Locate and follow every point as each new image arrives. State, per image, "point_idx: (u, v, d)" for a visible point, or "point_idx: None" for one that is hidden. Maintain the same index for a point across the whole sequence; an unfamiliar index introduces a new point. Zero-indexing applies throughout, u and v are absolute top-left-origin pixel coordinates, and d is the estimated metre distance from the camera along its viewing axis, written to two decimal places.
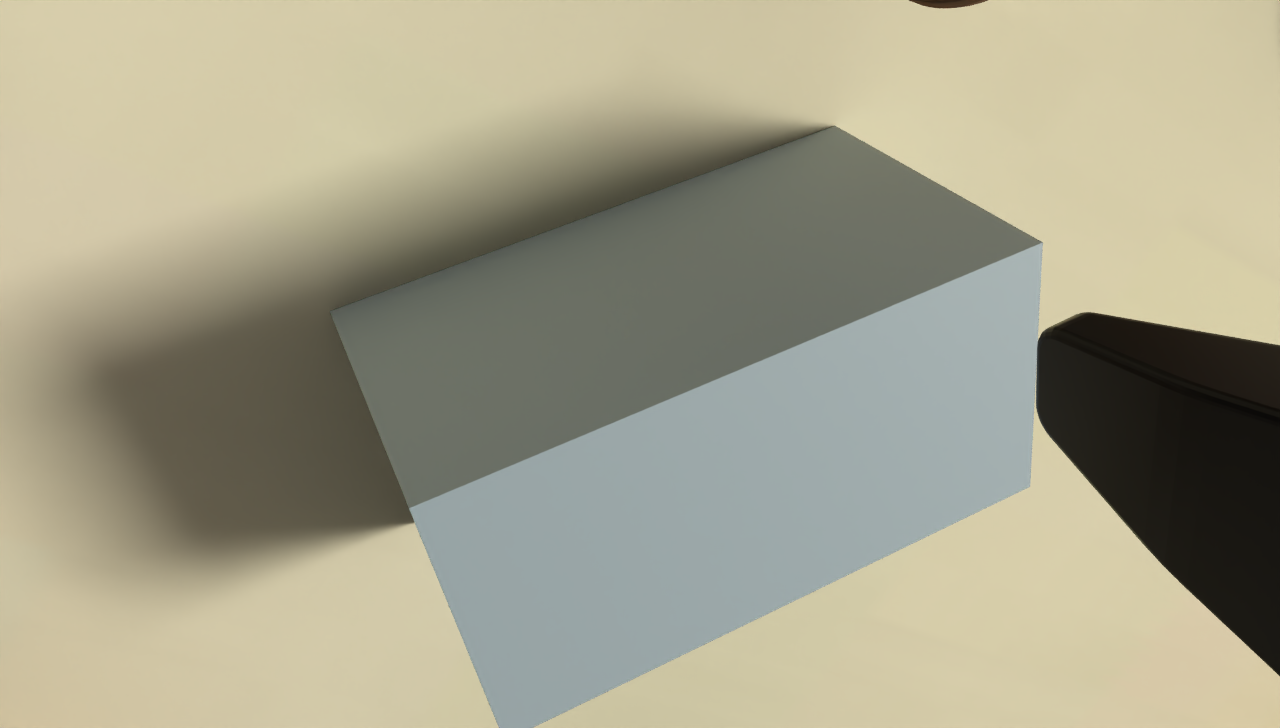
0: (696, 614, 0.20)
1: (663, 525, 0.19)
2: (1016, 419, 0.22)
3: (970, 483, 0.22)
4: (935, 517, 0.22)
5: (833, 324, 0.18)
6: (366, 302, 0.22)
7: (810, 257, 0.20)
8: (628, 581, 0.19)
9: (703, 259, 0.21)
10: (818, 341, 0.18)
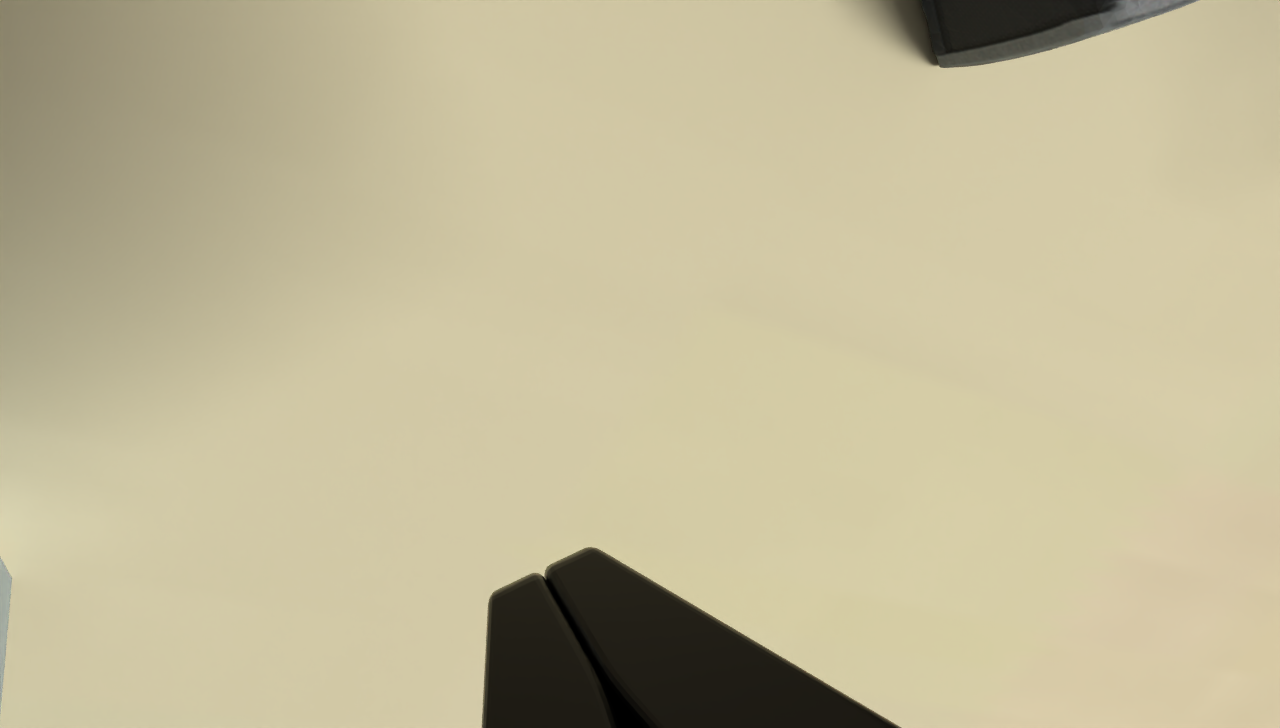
0: None
1: None
2: None
3: None
4: None
5: None
6: None
7: None
8: None
9: None
10: None
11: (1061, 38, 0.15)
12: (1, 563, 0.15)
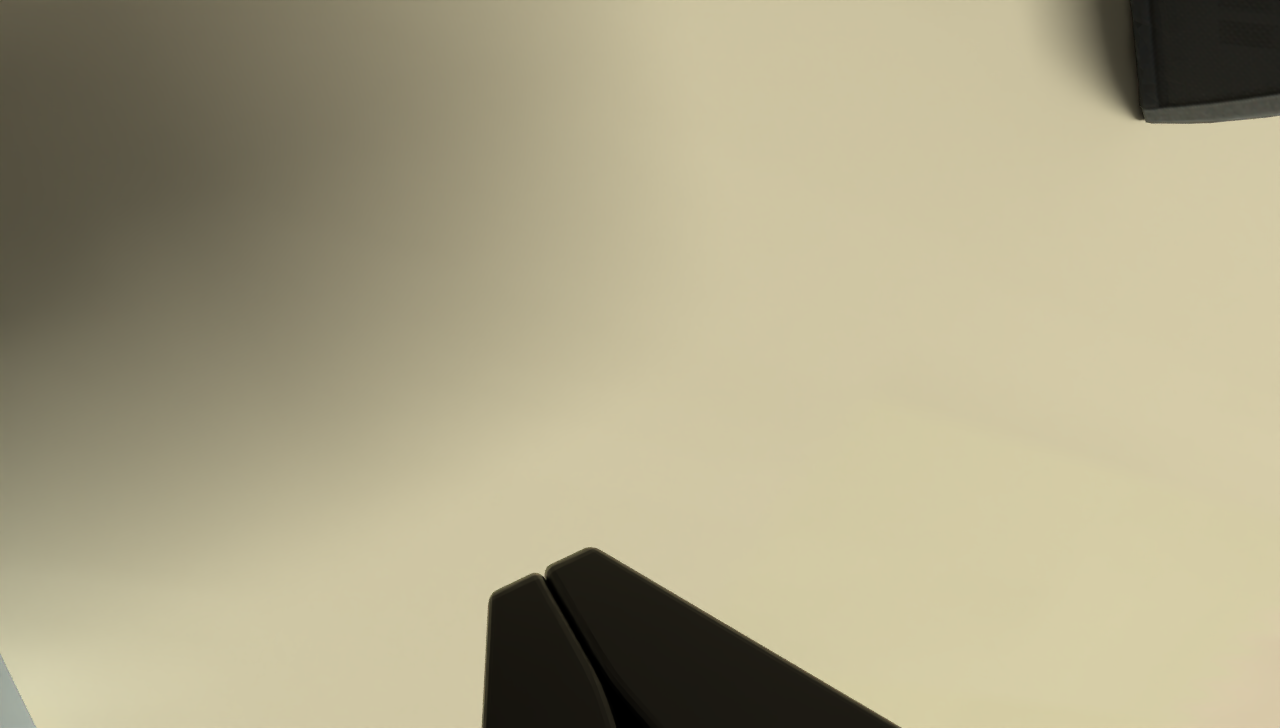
0: None
1: None
2: None
3: None
4: None
5: None
6: None
7: None
8: None
9: None
10: None
11: None
12: None
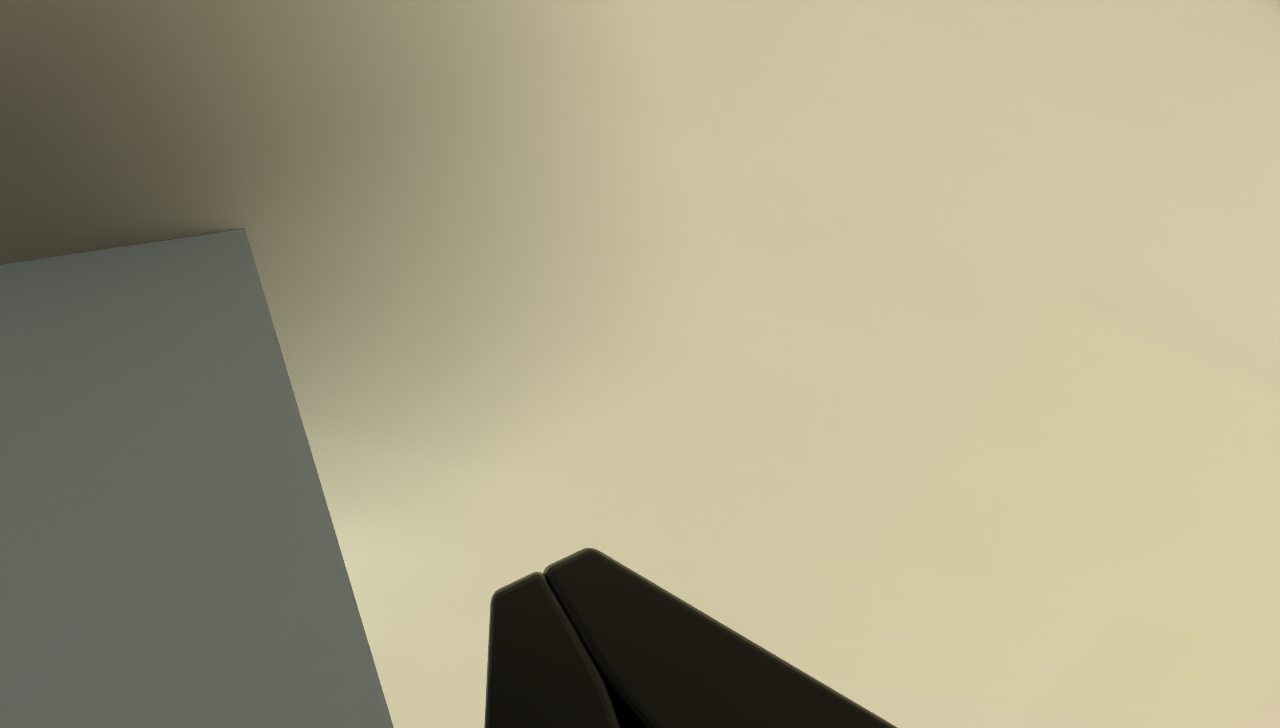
0: None
1: None
2: None
3: None
4: None
5: None
6: None
7: None
8: None
9: None
10: None
11: None
12: None
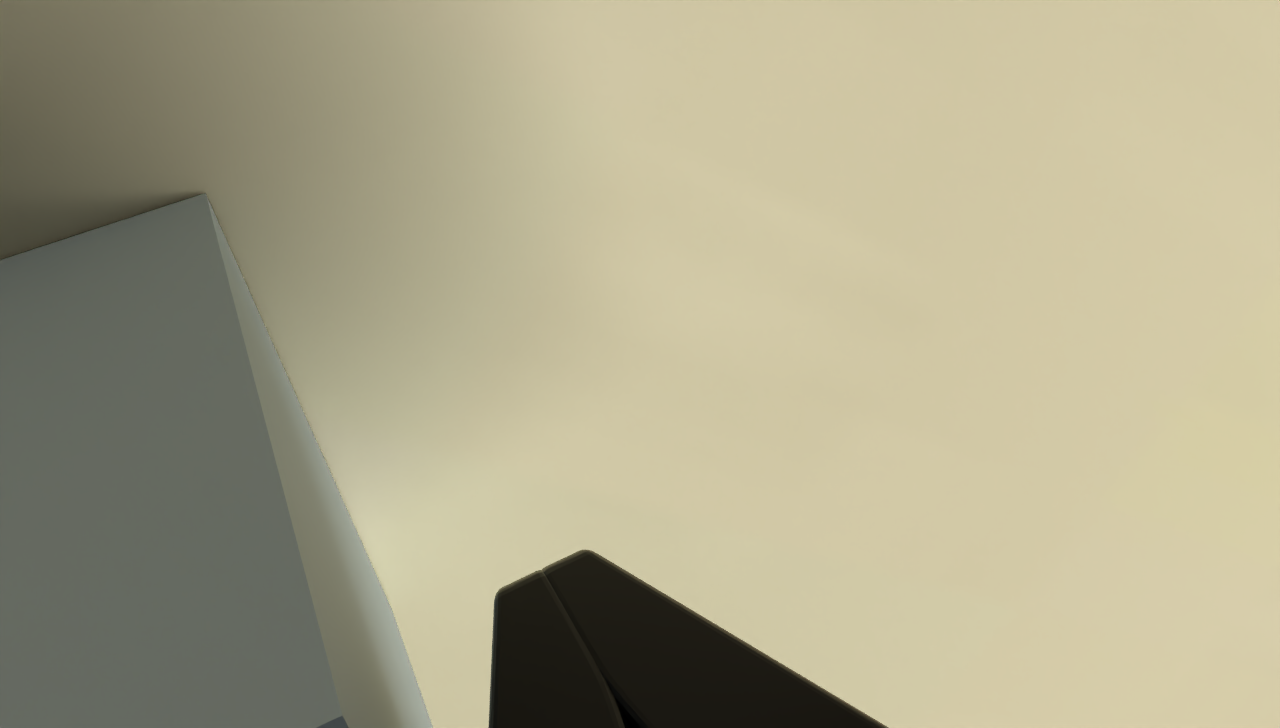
0: None
1: None
2: None
3: None
4: None
5: None
6: None
7: None
8: None
9: None
10: None
11: None
12: (387, 600, 0.14)
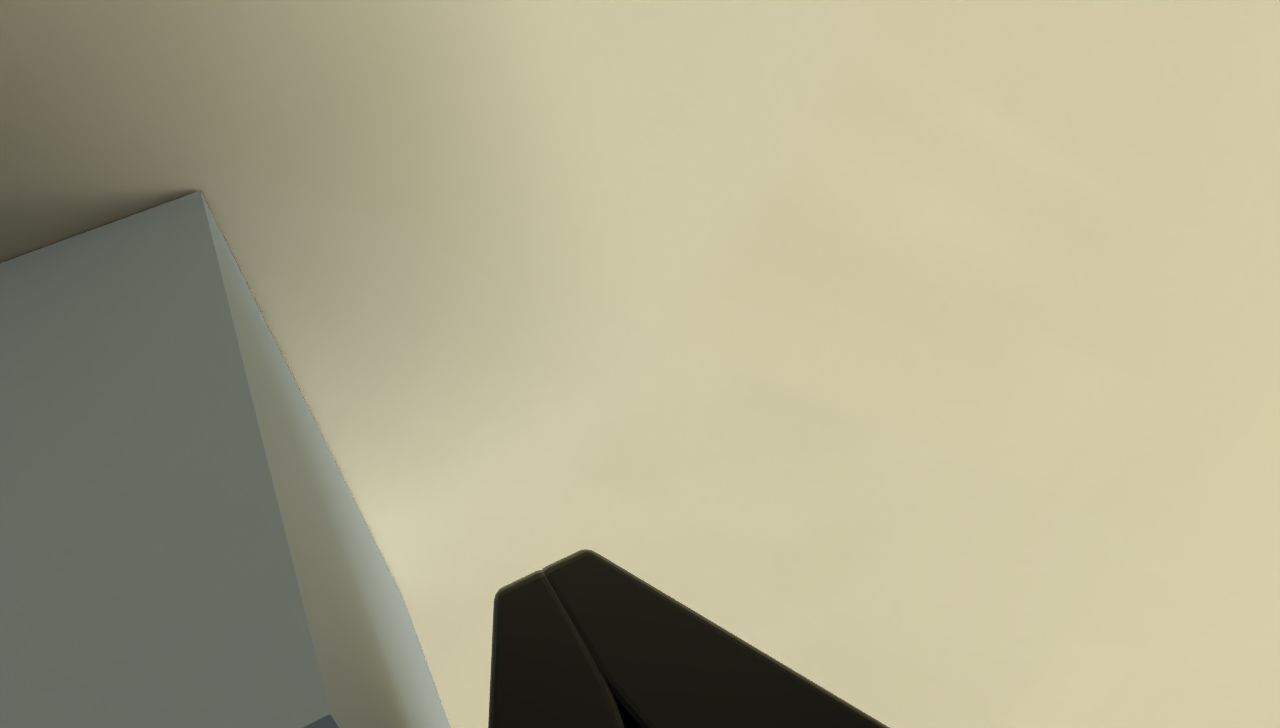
0: None
1: None
2: None
3: None
4: None
5: None
6: None
7: None
8: None
9: None
10: None
11: None
12: (398, 592, 0.14)
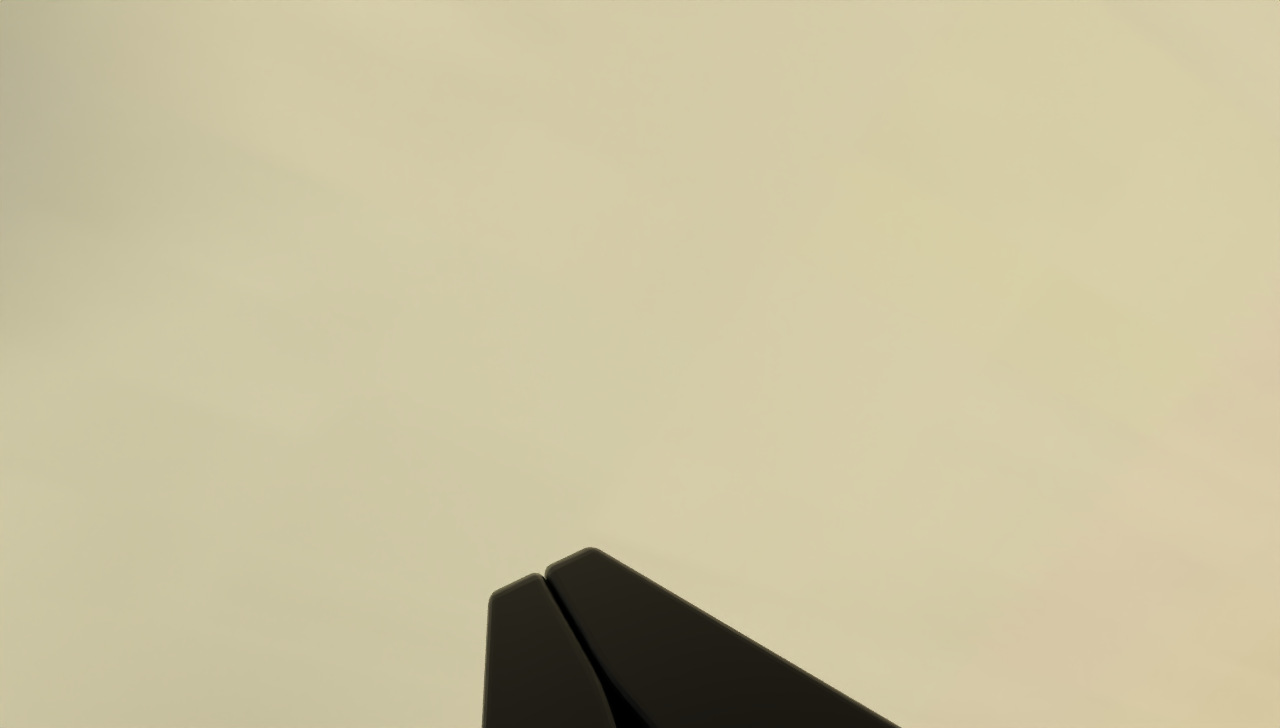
0: None
1: None
2: None
3: None
4: None
5: None
6: None
7: None
8: None
9: None
10: None
11: None
12: None
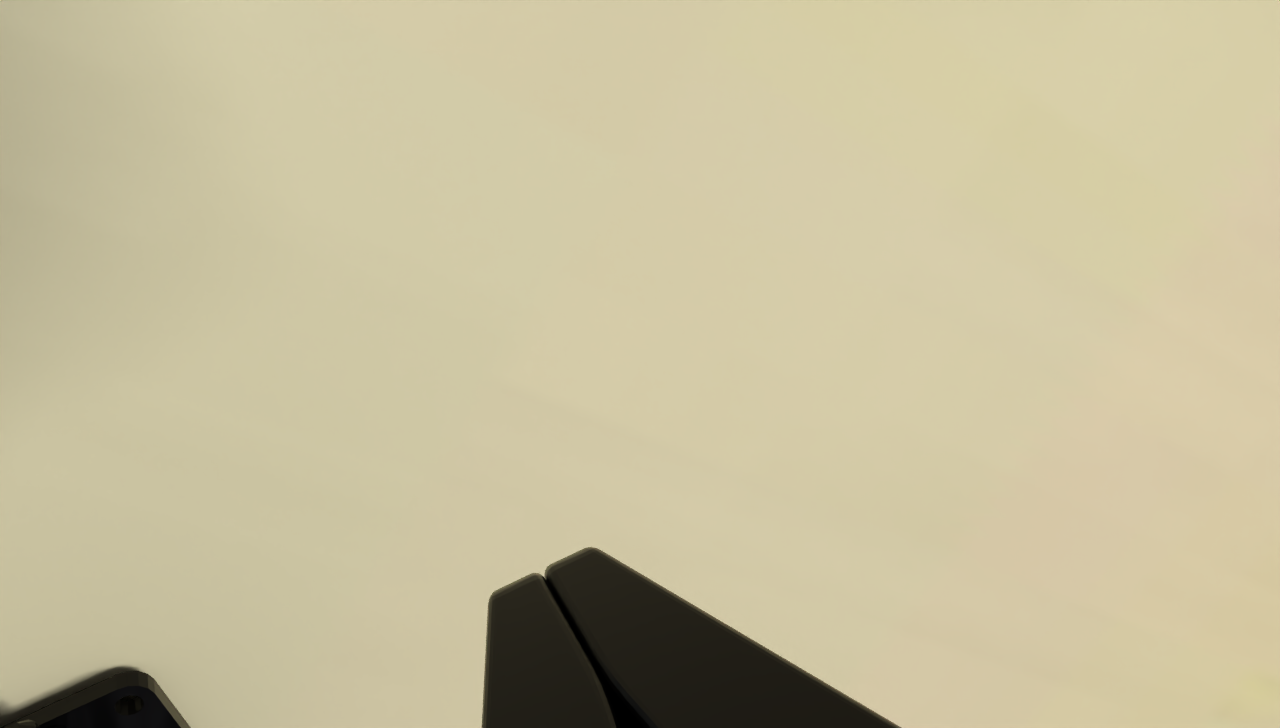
0: None
1: None
2: None
3: None
4: None
5: None
6: None
7: None
8: None
9: None
10: None
11: None
12: None
